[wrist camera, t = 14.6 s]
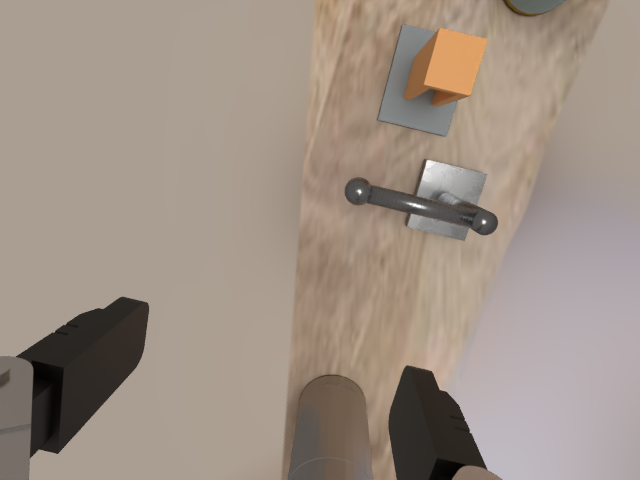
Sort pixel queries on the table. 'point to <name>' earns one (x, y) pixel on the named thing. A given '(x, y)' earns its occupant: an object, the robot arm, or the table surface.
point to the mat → (393, 105)
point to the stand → (433, 200)
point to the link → (446, 67)
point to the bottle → (533, 6)
